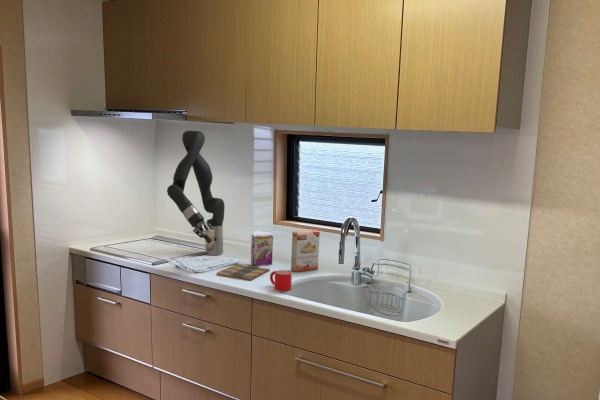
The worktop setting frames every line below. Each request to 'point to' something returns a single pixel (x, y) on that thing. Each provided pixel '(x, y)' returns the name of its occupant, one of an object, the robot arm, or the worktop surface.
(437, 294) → the worktop surface
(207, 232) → the tan tall block
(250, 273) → the oak board
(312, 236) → the cracker box
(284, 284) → the mug
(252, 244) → the candy bar box
